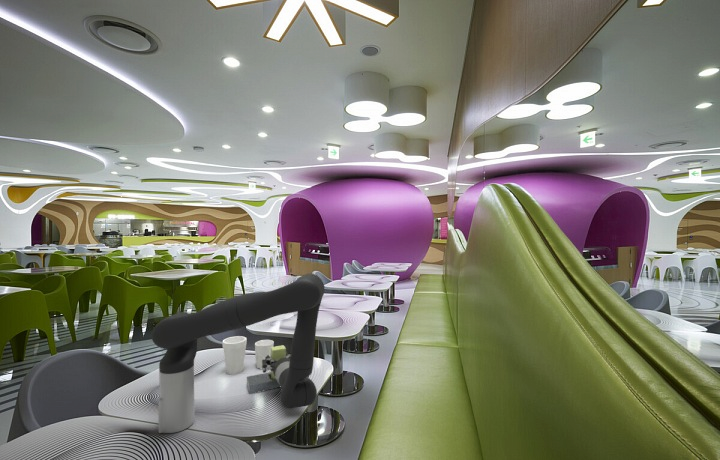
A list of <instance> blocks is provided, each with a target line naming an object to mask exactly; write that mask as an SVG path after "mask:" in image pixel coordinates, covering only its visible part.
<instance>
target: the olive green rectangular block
mask: <svg viewBox="0 0 720 460" xmlns="http://www.w3.org/2000/svg"><path fill="white" fill-rule="evenodd" d="M286 352H287V348H286V346H285V345H283V344H282V345H277V346H275V345H274V347H271V359H273V358H274V359H277V360H278V359H281V358H285V357H286ZM270 372H271V379H276V378H275V376H274V373H273V371H271V370H270Z"/></svg>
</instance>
